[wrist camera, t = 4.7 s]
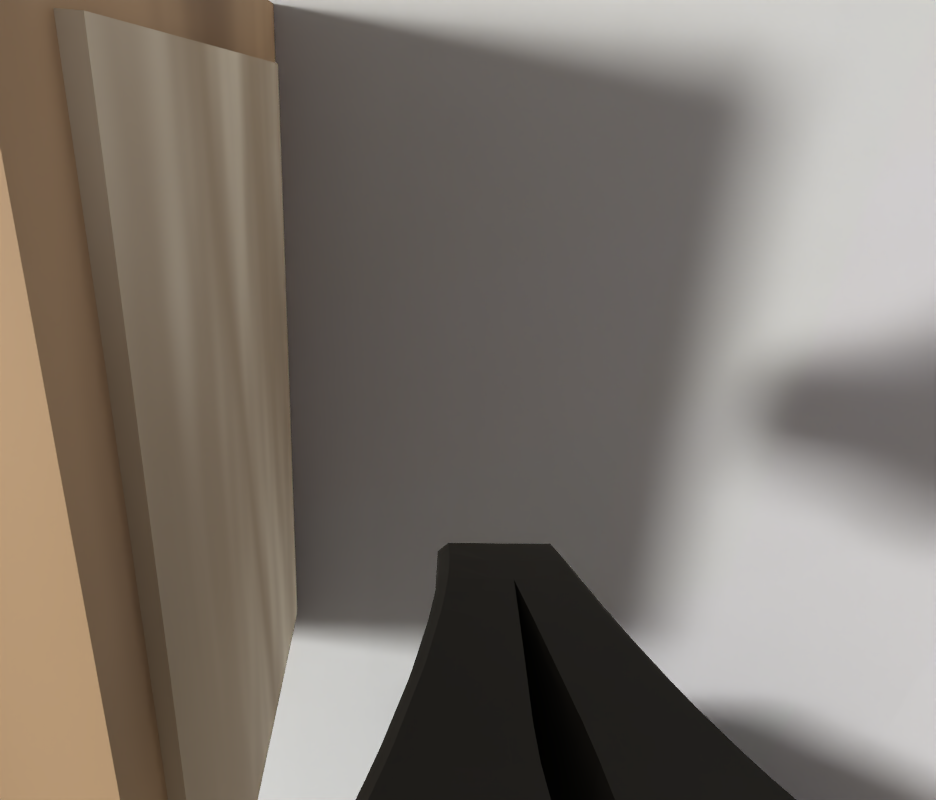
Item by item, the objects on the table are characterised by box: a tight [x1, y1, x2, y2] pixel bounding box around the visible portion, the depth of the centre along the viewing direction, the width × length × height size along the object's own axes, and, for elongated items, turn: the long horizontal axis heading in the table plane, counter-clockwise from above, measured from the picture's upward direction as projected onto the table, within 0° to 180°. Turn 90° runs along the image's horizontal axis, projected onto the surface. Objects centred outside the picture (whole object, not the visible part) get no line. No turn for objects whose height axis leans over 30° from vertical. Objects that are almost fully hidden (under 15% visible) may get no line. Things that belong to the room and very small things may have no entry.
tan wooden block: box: [0, 0, 297, 800], centre depth 11 cm, size 4×14×10 cm, turn 176°
